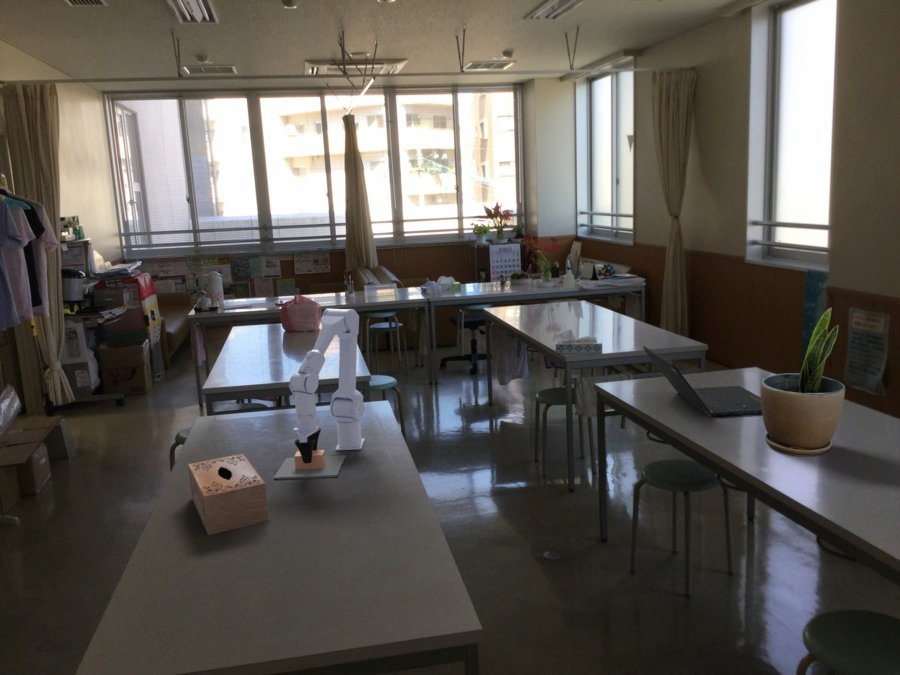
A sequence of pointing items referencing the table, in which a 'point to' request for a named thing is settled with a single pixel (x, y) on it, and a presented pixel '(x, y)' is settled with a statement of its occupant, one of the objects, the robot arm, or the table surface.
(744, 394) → the laptop
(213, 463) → the tissue box cover
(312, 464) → the light orange rectangular block
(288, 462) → the mat
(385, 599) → the table surface
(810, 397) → the potted plant
